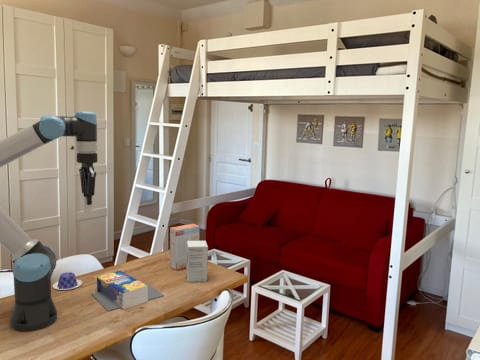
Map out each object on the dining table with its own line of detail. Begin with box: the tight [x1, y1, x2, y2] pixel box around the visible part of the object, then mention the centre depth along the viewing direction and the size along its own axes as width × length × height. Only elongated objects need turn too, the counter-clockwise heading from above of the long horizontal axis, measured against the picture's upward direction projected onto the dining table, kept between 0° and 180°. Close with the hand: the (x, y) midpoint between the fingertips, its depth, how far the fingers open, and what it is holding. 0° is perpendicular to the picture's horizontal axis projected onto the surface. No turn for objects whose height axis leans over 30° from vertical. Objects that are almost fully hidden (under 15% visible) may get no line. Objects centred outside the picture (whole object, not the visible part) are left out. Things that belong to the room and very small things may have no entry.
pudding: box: [52, 271, 83, 291], centre depth 179 cm, size 12×12×5 cm
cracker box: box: [169, 223, 200, 271], centre depth 205 cm, size 14×6×21 cm, turn 130°
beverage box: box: [96, 270, 149, 310], centre depth 169 cm, size 7×11×22 cm
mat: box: [91, 281, 165, 312], centre depth 171 cm, size 24×18×1 cm
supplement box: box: [185, 240, 209, 283], centre depth 191 cm, size 10×9×17 cm
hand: (88, 212), depth 160 cm, fingers closed
